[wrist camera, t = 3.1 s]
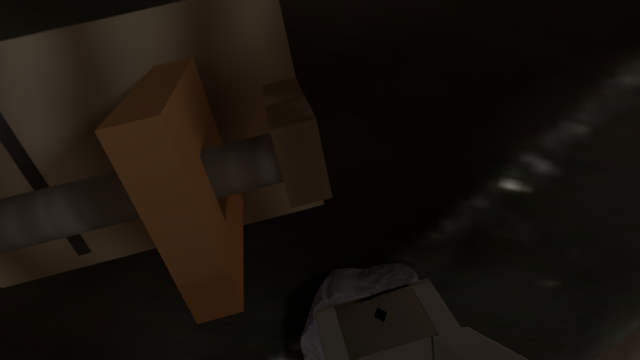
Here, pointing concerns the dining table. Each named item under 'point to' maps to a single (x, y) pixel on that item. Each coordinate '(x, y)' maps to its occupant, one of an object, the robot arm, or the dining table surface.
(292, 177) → the pipe stand
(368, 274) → the stone block
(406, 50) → the dining table surface
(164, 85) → the collar
